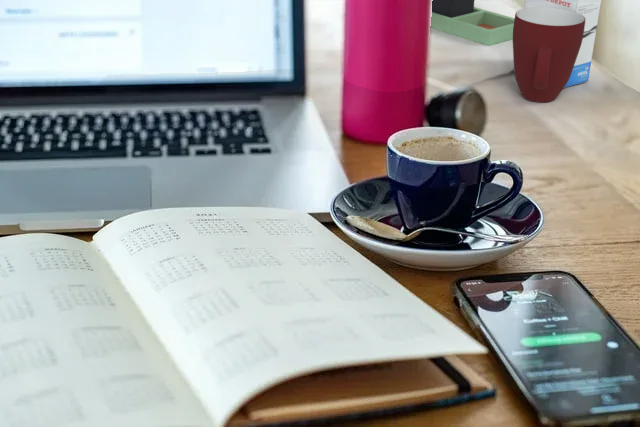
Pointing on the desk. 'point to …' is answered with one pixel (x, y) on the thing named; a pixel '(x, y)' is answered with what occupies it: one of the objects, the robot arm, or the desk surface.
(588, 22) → the ink box
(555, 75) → the mug
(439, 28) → the holder
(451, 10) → the black block
